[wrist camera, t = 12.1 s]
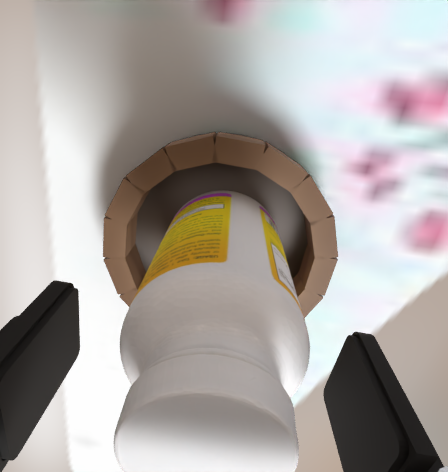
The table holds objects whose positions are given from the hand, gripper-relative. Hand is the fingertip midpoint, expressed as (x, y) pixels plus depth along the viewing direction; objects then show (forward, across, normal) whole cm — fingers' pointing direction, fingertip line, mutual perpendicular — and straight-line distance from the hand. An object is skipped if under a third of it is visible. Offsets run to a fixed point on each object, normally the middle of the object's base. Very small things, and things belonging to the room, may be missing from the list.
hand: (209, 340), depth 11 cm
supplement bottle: (+9, 0, +1) cm, 9 cm away
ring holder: (+10, 0, +1) cm, 10 cm away
